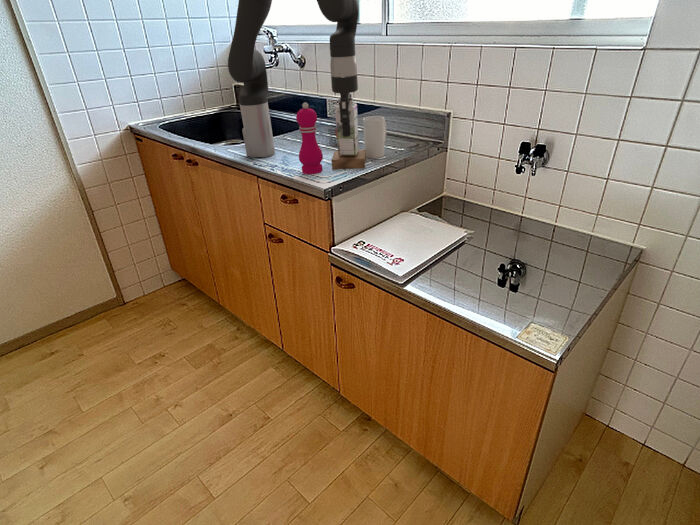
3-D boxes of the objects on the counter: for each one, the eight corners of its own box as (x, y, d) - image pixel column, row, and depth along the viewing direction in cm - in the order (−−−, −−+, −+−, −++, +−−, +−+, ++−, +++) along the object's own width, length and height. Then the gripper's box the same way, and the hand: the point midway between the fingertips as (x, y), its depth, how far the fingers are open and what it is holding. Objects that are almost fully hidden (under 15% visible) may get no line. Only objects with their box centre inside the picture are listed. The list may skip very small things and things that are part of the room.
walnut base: (332, 169, 130) (331, 159, 129) (335, 160, 139) (334, 150, 137) (364, 168, 129) (364, 158, 128) (365, 158, 138) (365, 149, 136)
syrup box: (359, 150, 134) (357, 102, 127) (356, 156, 129) (353, 106, 122) (341, 150, 136) (338, 102, 128) (337, 156, 131) (334, 106, 123)
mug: (376, 160, 136) (375, 121, 130) (360, 157, 140) (358, 119, 134) (394, 152, 143) (394, 115, 137) (378, 149, 147) (377, 113, 141)
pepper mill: (324, 167, 133) (318, 99, 123) (323, 174, 127) (317, 103, 117) (301, 168, 133) (293, 101, 123) (299, 176, 127) (291, 105, 117)
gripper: (333, 71, 128) (337, 128, 136) (328, 77, 115) (332, 140, 124) (358, 70, 127) (360, 127, 135) (355, 76, 115) (358, 139, 123)
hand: (347, 133), depth 129 cm, fingers closed on syrup box, 6 cm apart
